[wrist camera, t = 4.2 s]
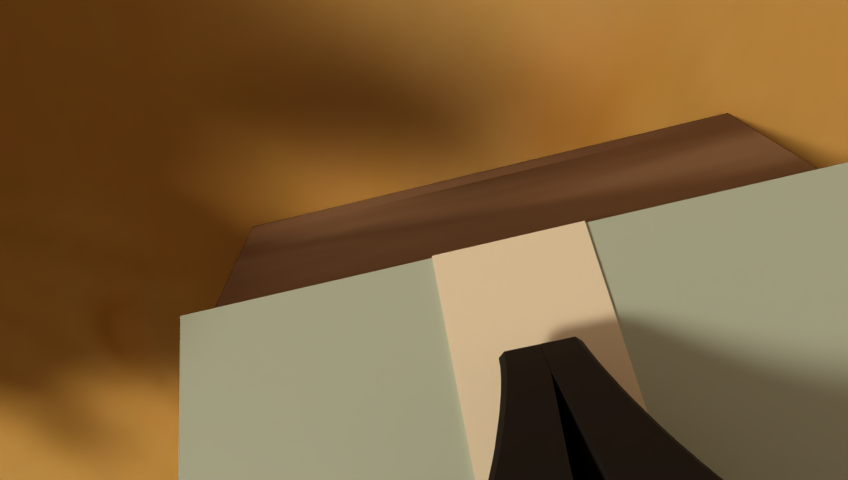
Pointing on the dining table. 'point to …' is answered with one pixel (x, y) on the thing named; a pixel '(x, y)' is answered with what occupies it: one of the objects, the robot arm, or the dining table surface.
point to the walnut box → (506, 204)
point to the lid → (540, 323)
